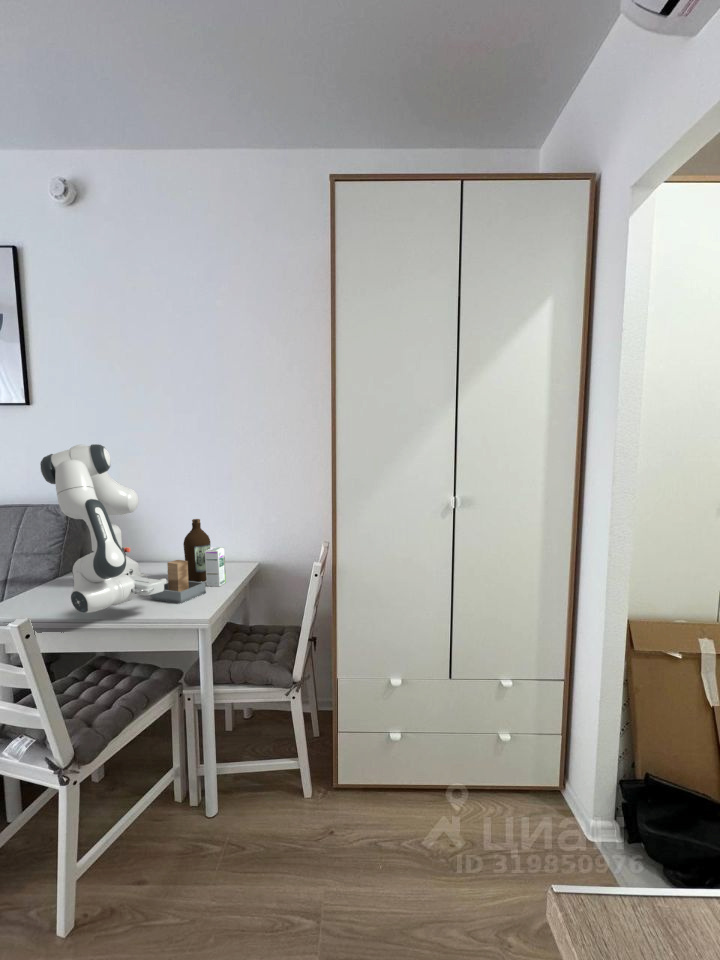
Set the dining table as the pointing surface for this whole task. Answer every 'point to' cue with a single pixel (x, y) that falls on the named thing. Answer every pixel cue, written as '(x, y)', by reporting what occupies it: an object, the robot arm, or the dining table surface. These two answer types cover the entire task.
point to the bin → (180, 593)
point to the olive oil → (196, 552)
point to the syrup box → (215, 567)
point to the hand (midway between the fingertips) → (155, 579)
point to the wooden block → (178, 575)
